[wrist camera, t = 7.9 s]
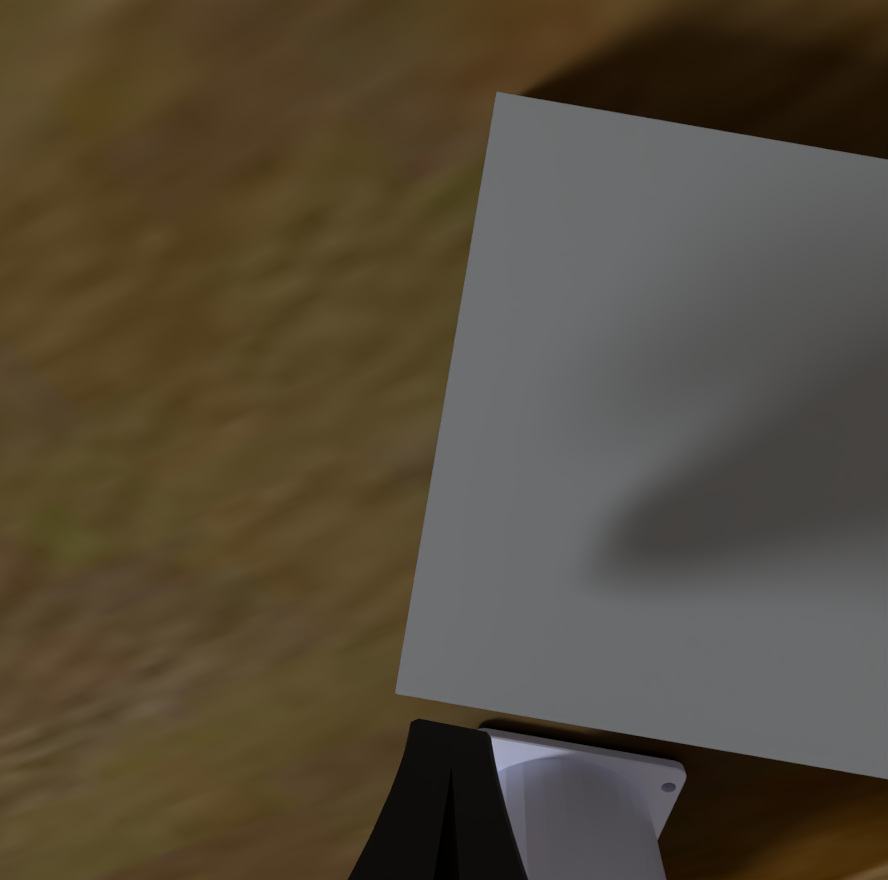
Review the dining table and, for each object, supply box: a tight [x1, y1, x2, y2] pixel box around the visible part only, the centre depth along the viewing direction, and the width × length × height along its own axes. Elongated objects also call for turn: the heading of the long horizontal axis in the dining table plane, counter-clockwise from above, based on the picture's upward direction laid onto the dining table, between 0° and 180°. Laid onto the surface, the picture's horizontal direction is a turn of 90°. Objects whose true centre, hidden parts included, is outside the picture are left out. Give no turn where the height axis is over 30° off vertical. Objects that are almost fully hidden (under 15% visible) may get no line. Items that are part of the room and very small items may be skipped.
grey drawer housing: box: [395, 92, 888, 779], centre depth 16 cm, size 14×14×5 cm
